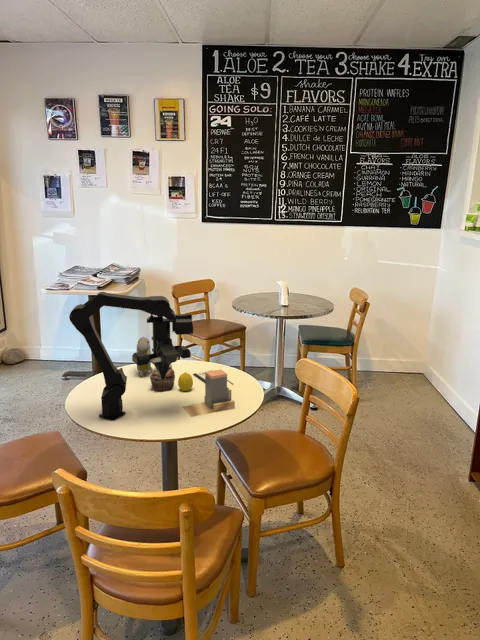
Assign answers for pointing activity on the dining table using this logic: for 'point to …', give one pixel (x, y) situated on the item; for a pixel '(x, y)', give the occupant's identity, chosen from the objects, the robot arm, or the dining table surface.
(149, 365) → the alarm clock
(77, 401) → the dining table surface
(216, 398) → the plug block
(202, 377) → the chocolate bar
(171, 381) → the cupcake
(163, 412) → the dining table surface
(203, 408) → the wooden stand
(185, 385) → the lemon
